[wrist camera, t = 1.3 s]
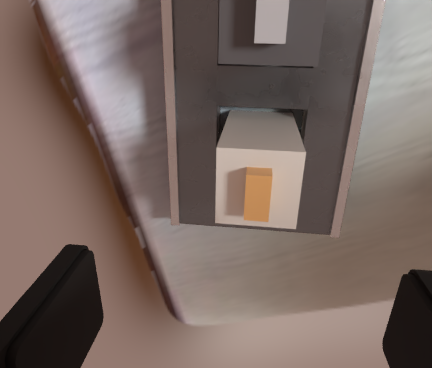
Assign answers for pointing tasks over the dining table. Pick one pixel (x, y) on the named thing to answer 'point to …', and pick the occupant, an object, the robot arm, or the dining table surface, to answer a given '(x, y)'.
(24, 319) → the robot arm
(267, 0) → the matte charcoal box
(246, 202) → the white block orange tab
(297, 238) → the dining table surface
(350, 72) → the panel
